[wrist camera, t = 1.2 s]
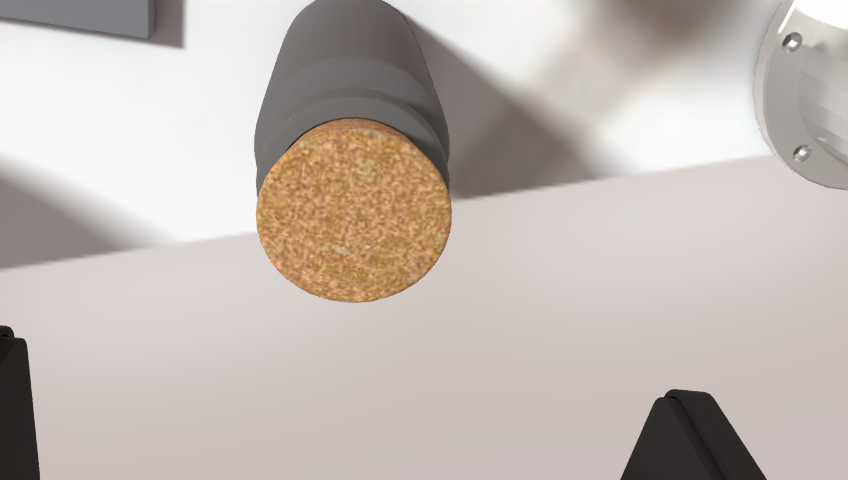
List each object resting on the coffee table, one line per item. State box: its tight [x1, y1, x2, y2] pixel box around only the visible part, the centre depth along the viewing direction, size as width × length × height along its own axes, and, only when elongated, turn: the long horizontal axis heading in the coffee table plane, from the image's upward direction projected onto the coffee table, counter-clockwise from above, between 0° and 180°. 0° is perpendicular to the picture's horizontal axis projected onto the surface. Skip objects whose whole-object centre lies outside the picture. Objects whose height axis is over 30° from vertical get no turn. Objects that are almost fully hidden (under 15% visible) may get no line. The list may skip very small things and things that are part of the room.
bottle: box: [254, 0, 452, 303], centre depth 23 cm, size 6×6×15 cm
